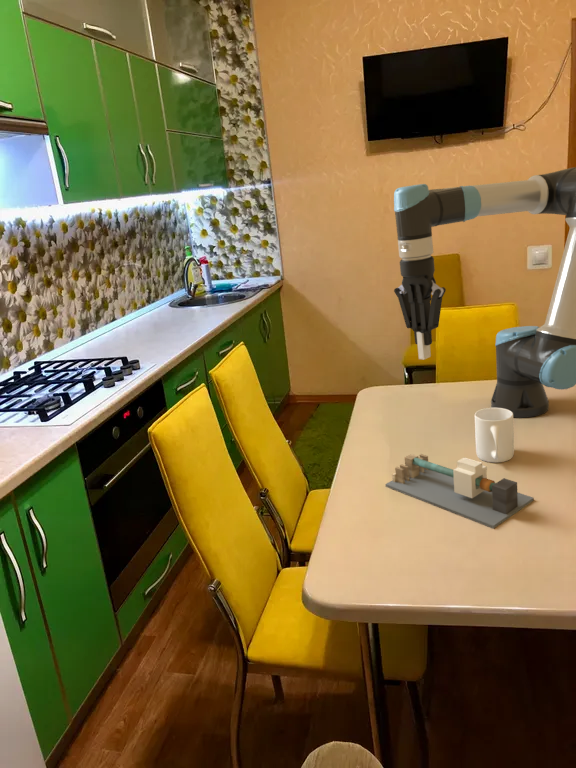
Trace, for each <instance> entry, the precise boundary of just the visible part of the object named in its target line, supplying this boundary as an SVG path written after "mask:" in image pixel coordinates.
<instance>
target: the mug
mask: <svg viewBox="0 0 576 768" xmlns="http://www.w3.org/2000/svg"><path fill="white" fill-rule="evenodd" d="M474 431H475V432H474V434H475V435H474V436H475V438H474V439H475V453H476V456H477V458H478V459H479V460H481V461H483V462H487V463H496V464H497V463H503V462H507V461H509V460H511V459H512V458H513V457H514V454H515V446H514V445H515V444H514V443H515V441H514V439H515V438H514V437H515V436H514V433H515V432H514V417H513V413H512V412H511V411H510V410H507V409H504V408H491V407H485V408H482V409H478V410H476V411H475V413H474Z"/></svg>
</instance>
